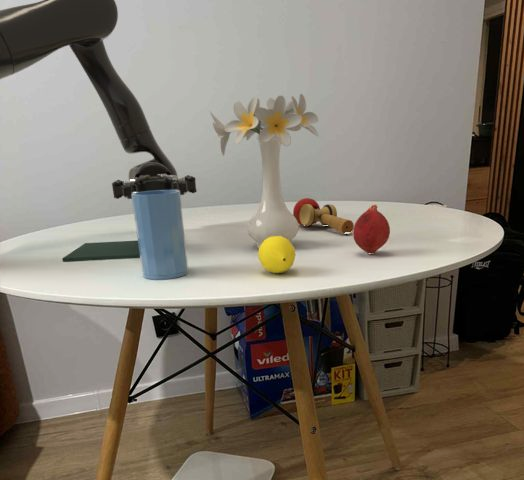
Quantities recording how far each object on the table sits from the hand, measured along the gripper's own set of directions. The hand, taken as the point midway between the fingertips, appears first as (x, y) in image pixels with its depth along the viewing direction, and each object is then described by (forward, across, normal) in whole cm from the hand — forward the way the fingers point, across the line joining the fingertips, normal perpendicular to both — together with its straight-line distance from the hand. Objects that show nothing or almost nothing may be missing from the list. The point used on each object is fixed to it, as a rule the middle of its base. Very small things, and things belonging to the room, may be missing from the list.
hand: (155, 190), depth 82 cm
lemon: (+17, +16, +12) cm, 26 cm away
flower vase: (-2, +19, +12) cm, 23 cm away
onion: (+11, +33, +12) cm, 37 cm away
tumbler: (+11, 0, +11) cm, 16 cm away
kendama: (-15, +34, +12) cm, 39 cm away
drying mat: (-10, -8, +11) cm, 17 cm away
